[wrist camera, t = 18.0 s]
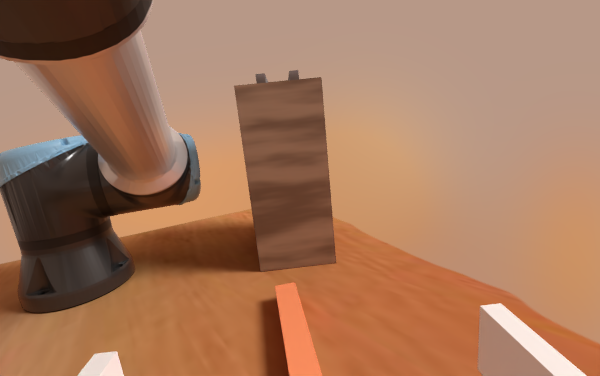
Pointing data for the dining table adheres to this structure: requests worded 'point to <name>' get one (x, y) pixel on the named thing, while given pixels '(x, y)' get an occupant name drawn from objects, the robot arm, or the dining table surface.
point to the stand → (287, 171)
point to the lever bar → (296, 333)
